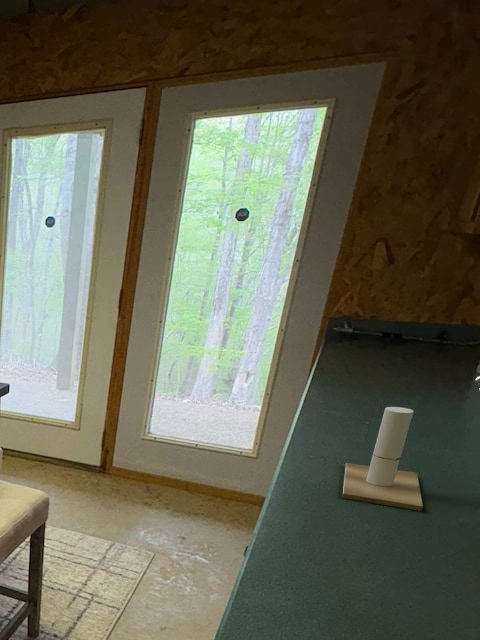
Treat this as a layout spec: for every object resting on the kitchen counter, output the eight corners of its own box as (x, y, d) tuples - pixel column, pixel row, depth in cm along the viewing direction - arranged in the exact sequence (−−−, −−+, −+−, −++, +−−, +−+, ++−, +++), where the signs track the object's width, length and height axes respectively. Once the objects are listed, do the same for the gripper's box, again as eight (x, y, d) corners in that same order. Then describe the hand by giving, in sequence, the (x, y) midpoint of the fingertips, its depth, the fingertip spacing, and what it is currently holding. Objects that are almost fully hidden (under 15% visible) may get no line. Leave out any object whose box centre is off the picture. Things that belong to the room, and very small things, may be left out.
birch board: (345, 467, 136) (346, 462, 136) (415, 477, 129) (417, 472, 129) (341, 498, 121) (343, 493, 121) (421, 511, 114) (423, 506, 114)
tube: (373, 485, 123) (393, 412, 118) (361, 478, 127) (380, 406, 122) (397, 486, 123) (418, 412, 117) (385, 478, 127) (405, 406, 121)
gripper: (551, 317, 115) (464, 365, 125) (570, 333, 101) (470, 386, 110) (576, 344, 114) (487, 389, 124) (600, 363, 100) (496, 414, 109)
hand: (479, 388), depth 117 cm, fingers open, 8 cm apart
